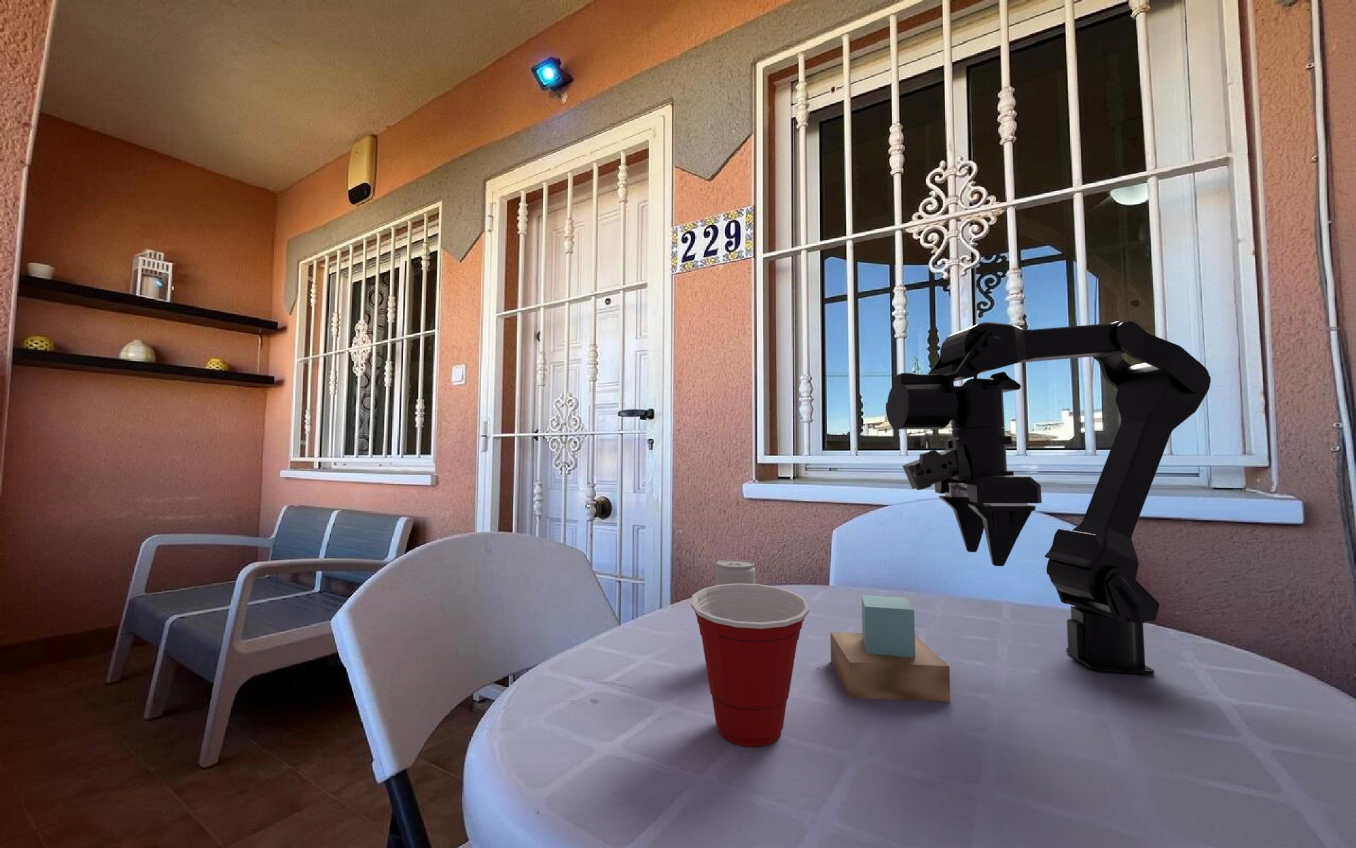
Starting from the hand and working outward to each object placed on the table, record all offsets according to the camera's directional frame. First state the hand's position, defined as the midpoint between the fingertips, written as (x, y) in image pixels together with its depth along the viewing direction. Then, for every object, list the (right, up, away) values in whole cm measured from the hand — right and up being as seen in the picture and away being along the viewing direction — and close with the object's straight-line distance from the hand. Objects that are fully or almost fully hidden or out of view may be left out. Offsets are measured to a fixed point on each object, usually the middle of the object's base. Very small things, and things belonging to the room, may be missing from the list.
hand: (984, 558), depth 65 cm
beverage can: (-30, -13, 0) cm, 33 cm away
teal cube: (-13, -9, -4) cm, 17 cm away
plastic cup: (-30, -12, -16) cm, 36 cm away
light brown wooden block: (-14, -13, -5) cm, 19 cm away
